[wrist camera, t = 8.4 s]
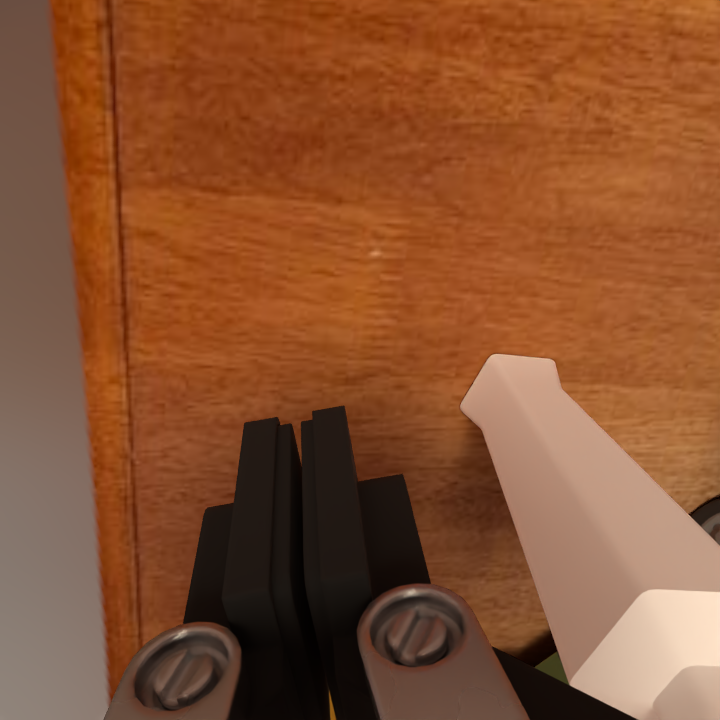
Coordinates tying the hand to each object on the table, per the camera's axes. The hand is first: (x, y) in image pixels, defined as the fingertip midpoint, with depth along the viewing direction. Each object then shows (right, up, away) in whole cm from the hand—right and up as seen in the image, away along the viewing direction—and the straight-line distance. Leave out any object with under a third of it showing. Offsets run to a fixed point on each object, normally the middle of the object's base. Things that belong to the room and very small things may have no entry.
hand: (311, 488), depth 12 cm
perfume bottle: (+6, +1, +14) cm, 16 cm away
